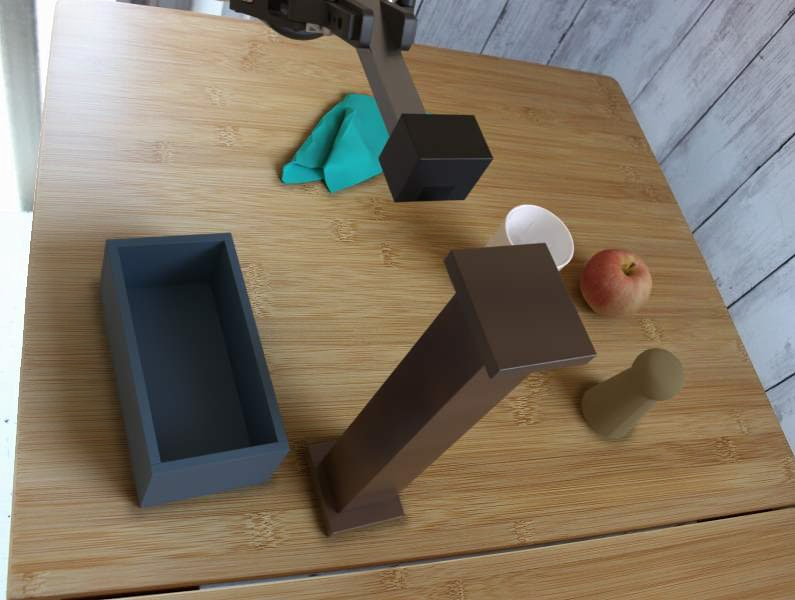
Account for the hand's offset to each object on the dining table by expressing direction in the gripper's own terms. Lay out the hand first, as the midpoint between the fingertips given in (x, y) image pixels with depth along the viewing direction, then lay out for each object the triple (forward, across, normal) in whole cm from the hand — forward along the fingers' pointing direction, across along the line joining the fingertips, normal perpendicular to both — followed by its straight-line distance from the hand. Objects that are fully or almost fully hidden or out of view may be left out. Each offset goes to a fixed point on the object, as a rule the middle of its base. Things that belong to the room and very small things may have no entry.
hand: (387, 31), depth 48 cm
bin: (-16, -6, +34) cm, 39 cm away
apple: (-19, +43, +33) cm, 57 cm away
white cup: (-22, +30, +31) cm, 48 cm away
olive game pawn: (-8, +37, +39) cm, 54 cm away
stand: (-6, +6, +40) cm, 41 cm away
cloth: (-40, +21, +21) cm, 50 cm away
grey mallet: (+1, 0, +3) cm, 3 cm away
